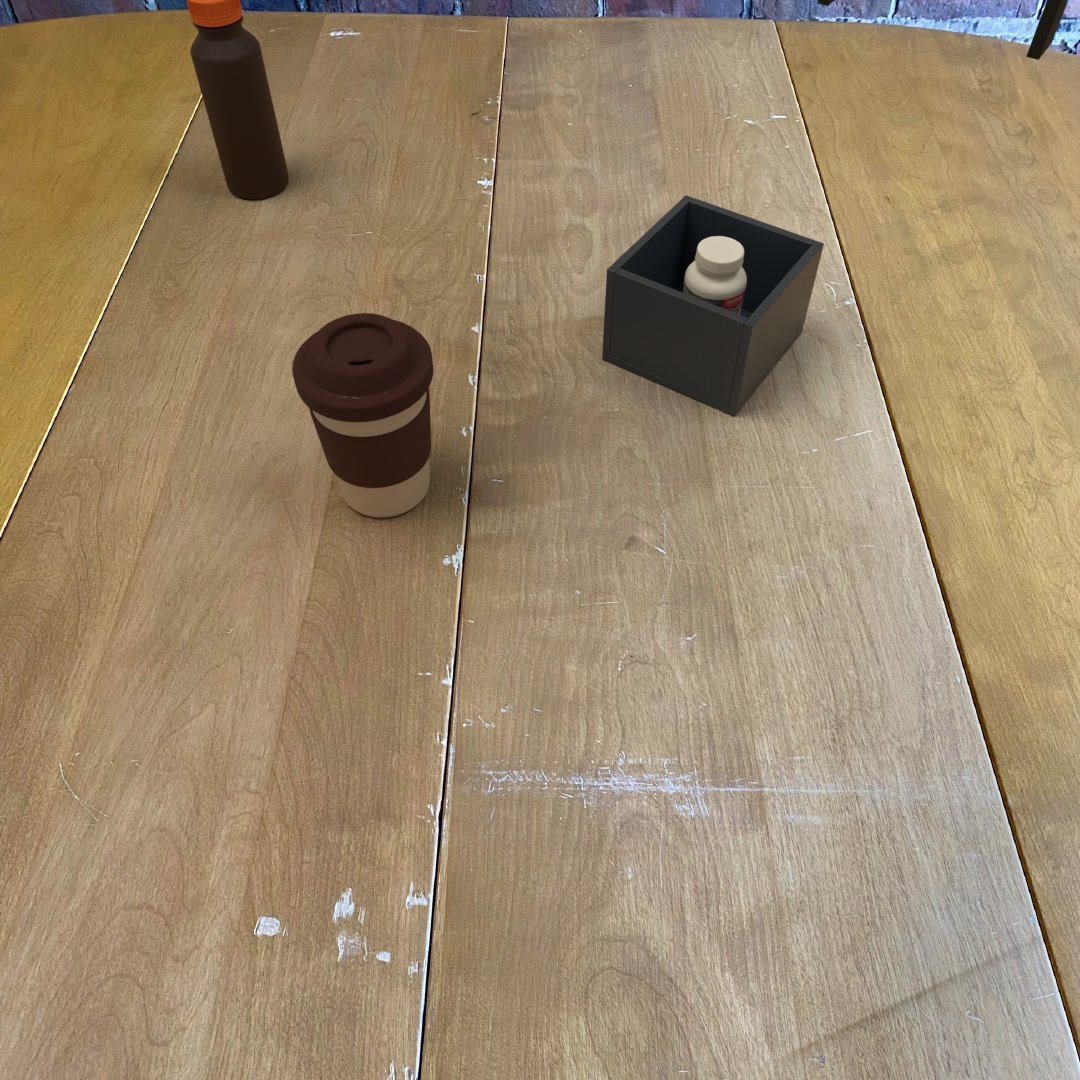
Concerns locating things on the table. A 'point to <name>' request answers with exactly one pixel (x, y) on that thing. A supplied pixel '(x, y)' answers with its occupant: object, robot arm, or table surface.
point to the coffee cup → (370, 409)
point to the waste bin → (707, 306)
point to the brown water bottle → (237, 99)
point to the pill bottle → (718, 273)
